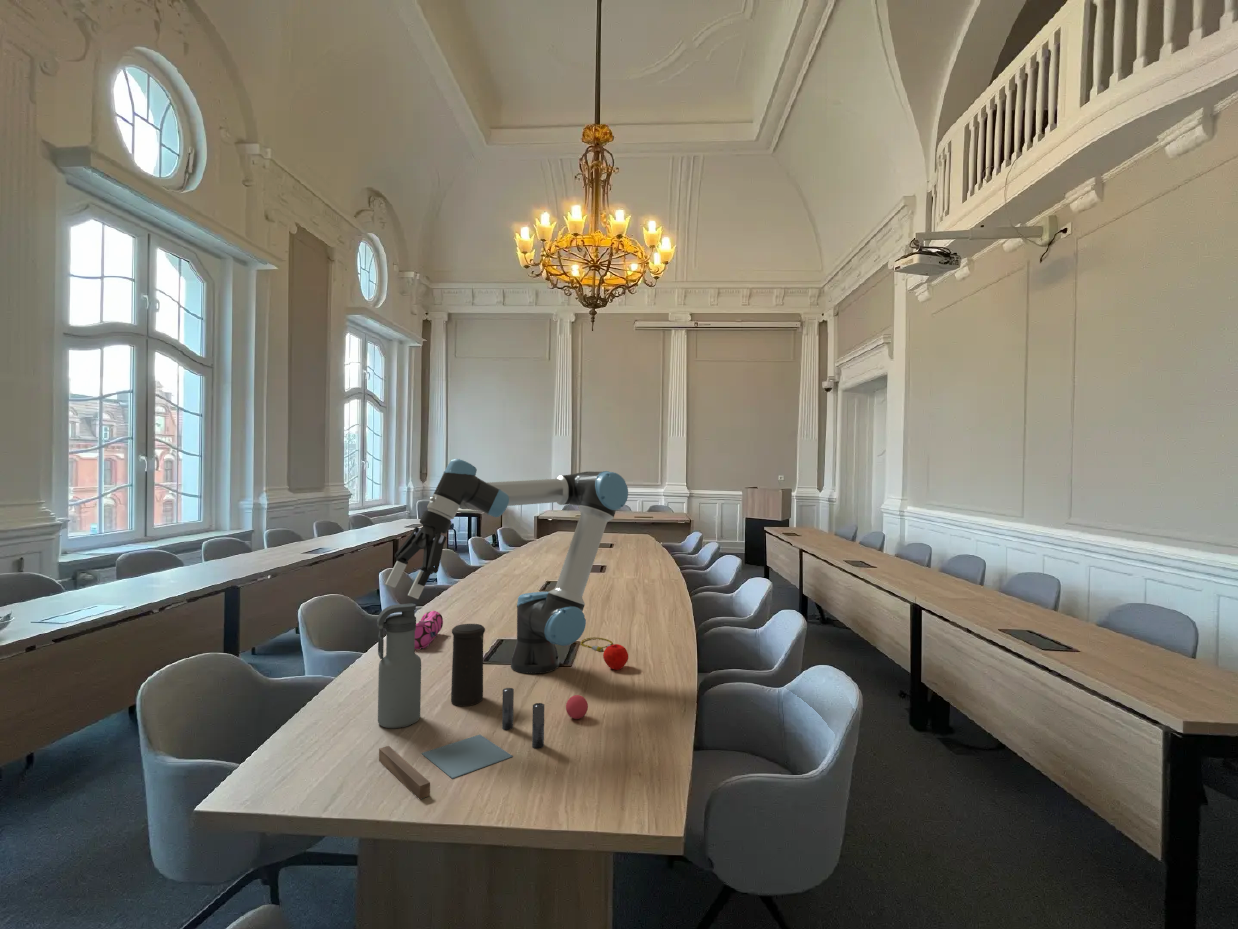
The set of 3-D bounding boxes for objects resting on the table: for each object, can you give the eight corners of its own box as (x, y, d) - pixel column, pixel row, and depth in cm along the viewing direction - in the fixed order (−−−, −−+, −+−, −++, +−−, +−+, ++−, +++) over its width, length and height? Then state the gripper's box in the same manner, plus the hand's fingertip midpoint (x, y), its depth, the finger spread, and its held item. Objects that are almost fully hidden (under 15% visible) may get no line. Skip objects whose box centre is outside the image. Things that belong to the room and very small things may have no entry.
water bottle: (377, 733, 138) (380, 612, 138) (373, 717, 147) (376, 603, 147) (423, 725, 143) (425, 608, 143) (416, 710, 151) (418, 600, 152)
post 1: (509, 724, 143) (509, 687, 144) (515, 728, 141) (515, 690, 142) (500, 727, 142) (500, 689, 142) (505, 731, 140) (506, 692, 140)
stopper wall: (388, 757, 126) (388, 745, 126) (429, 796, 111) (430, 782, 111) (378, 760, 125) (379, 748, 125) (419, 799, 110) (419, 786, 110)
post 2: (539, 742, 134) (540, 702, 134) (546, 746, 132) (546, 705, 132) (529, 745, 132) (530, 705, 132) (536, 749, 130) (537, 708, 131)
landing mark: (479, 735, 137) (479, 734, 137) (512, 757, 127) (512, 756, 127) (421, 754, 128) (421, 753, 128) (452, 779, 118) (452, 778, 118)
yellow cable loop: (578, 653, 203) (578, 647, 203) (581, 640, 219) (581, 635, 219) (614, 653, 203) (614, 647, 203) (614, 640, 219) (614, 635, 219)
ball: (578, 711, 152) (578, 690, 152) (592, 718, 147) (592, 696, 148) (561, 717, 148) (561, 695, 148) (574, 724, 144) (575, 701, 144)
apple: (604, 663, 190) (604, 640, 191) (628, 664, 190) (629, 641, 190) (601, 672, 182) (602, 648, 183) (627, 673, 182) (627, 648, 182)
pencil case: (434, 650, 203) (435, 621, 203) (405, 651, 202) (406, 621, 202) (445, 634, 224) (445, 607, 224) (418, 634, 223) (419, 607, 223)
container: (490, 697, 161) (491, 622, 161) (471, 709, 153) (472, 631, 153) (462, 692, 164) (464, 620, 164) (443, 704, 155) (444, 627, 156)
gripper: (406, 504, 162) (369, 577, 156) (450, 514, 144) (409, 597, 138) (429, 515, 167) (393, 586, 161) (474, 526, 149) (436, 607, 143)
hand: (401, 591), depth 150 cm, fingers open, 13 cm apart
